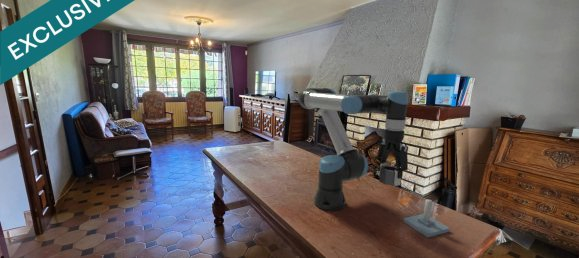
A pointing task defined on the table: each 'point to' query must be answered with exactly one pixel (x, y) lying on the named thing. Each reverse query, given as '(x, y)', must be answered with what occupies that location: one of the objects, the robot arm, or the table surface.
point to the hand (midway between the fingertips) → (389, 181)
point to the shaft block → (426, 222)
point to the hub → (387, 174)
